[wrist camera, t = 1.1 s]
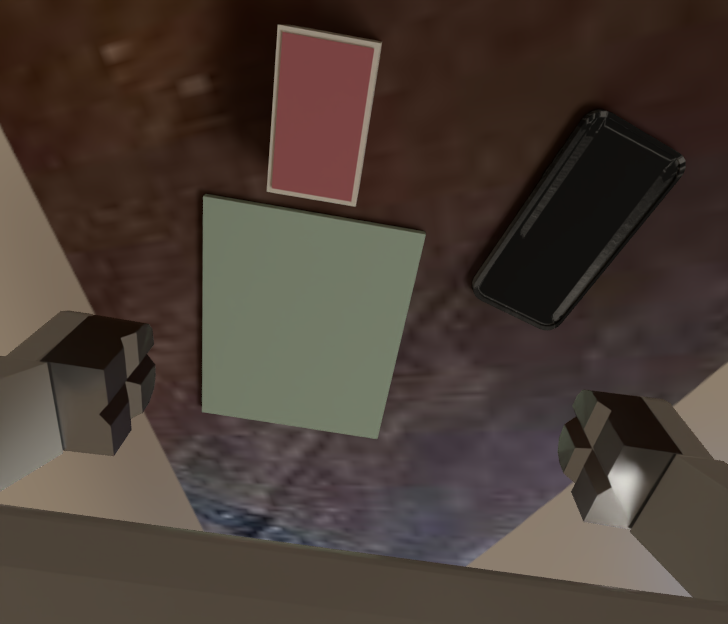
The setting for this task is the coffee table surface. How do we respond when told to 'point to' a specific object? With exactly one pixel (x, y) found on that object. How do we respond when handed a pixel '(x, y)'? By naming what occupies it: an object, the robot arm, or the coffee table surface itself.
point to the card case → (321, 113)
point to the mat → (302, 314)
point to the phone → (577, 219)
